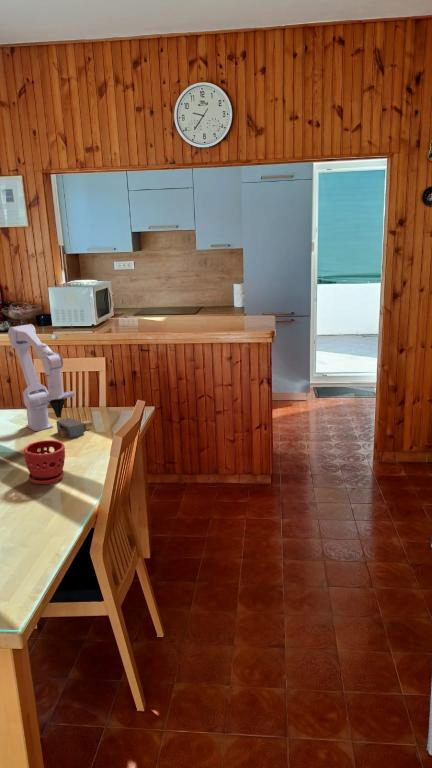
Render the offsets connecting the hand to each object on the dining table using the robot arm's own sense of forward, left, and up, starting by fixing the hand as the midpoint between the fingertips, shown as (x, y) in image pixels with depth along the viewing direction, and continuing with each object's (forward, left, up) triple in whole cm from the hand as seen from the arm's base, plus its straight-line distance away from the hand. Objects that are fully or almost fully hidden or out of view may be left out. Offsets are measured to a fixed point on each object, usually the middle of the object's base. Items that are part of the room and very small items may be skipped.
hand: (58, 417), depth 239 cm
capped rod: (0, +7, -8) cm, 11 cm away
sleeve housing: (0, +5, -8) cm, 10 cm away
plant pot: (+35, -23, -9) cm, 43 cm away
